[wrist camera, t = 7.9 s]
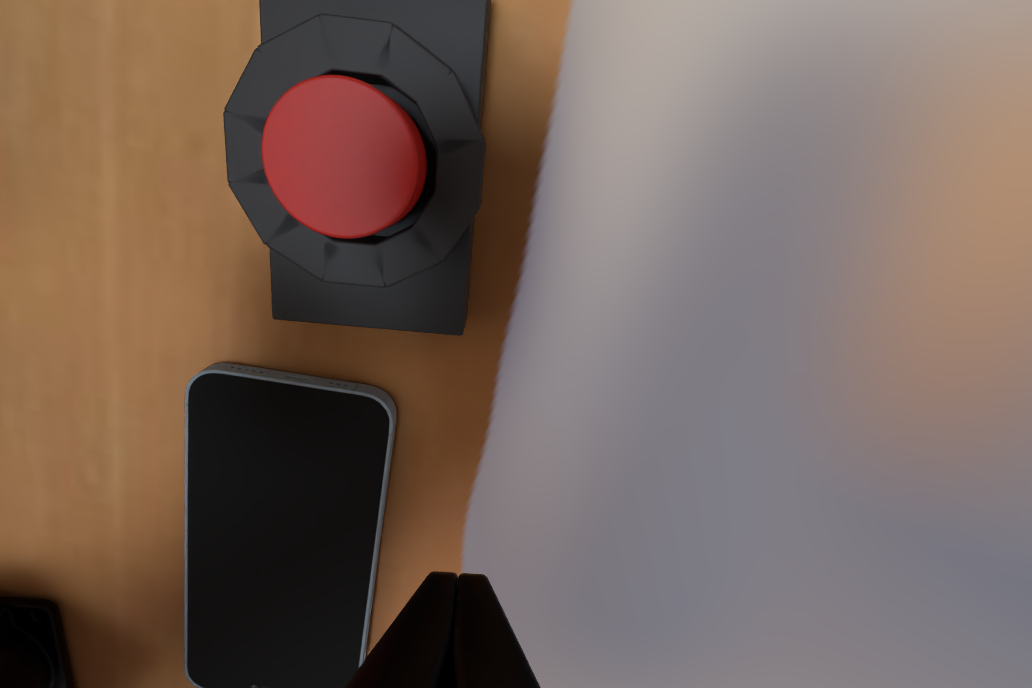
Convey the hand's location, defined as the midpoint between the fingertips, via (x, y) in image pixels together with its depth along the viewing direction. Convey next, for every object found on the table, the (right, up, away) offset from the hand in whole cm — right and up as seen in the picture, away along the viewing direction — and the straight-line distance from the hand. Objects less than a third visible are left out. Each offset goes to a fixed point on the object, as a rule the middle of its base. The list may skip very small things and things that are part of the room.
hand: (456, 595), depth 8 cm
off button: (-3, +9, +6) cm, 11 cm away
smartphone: (-8, -4, +14) cm, 17 cm away
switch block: (-3, +10, +9) cm, 14 cm away
